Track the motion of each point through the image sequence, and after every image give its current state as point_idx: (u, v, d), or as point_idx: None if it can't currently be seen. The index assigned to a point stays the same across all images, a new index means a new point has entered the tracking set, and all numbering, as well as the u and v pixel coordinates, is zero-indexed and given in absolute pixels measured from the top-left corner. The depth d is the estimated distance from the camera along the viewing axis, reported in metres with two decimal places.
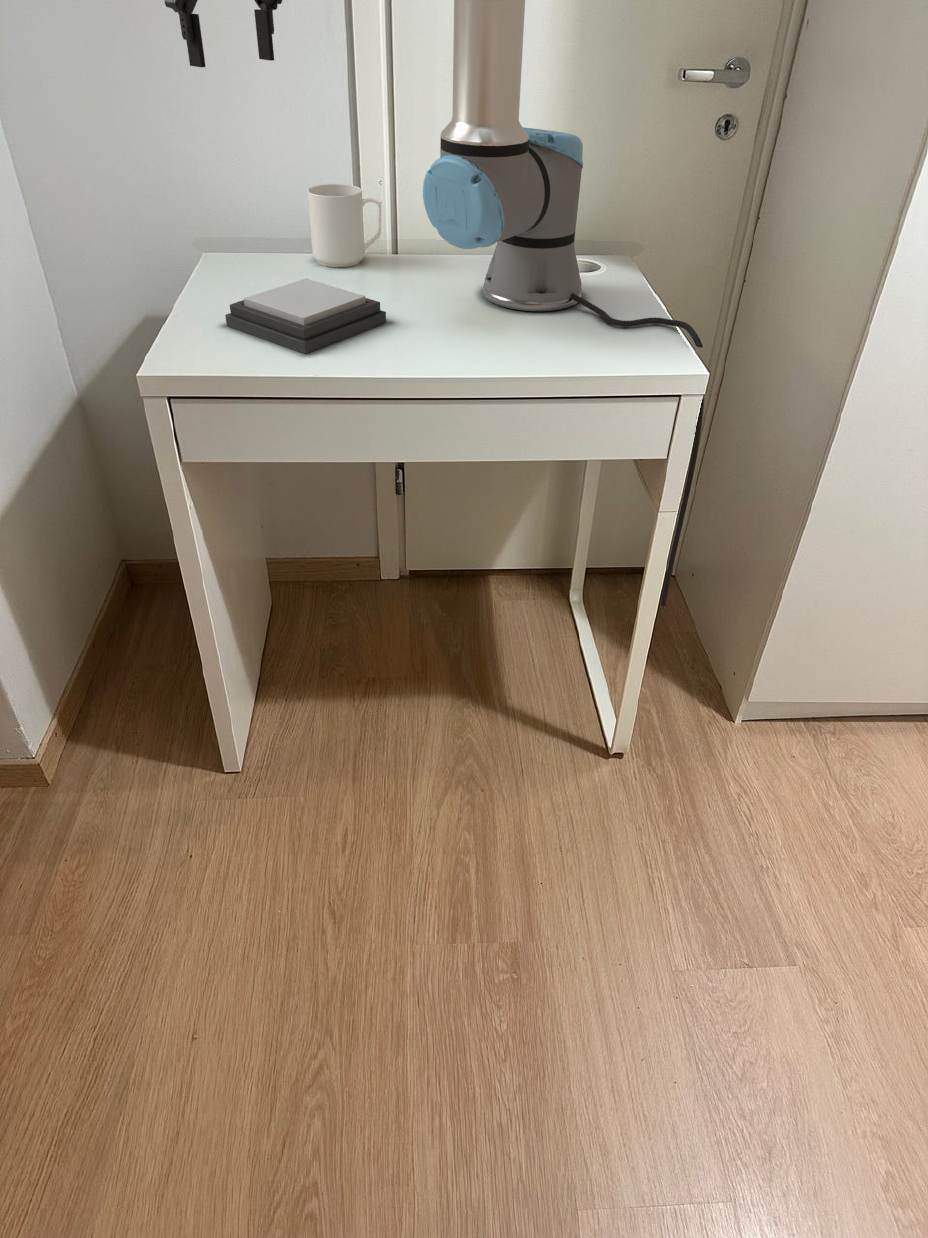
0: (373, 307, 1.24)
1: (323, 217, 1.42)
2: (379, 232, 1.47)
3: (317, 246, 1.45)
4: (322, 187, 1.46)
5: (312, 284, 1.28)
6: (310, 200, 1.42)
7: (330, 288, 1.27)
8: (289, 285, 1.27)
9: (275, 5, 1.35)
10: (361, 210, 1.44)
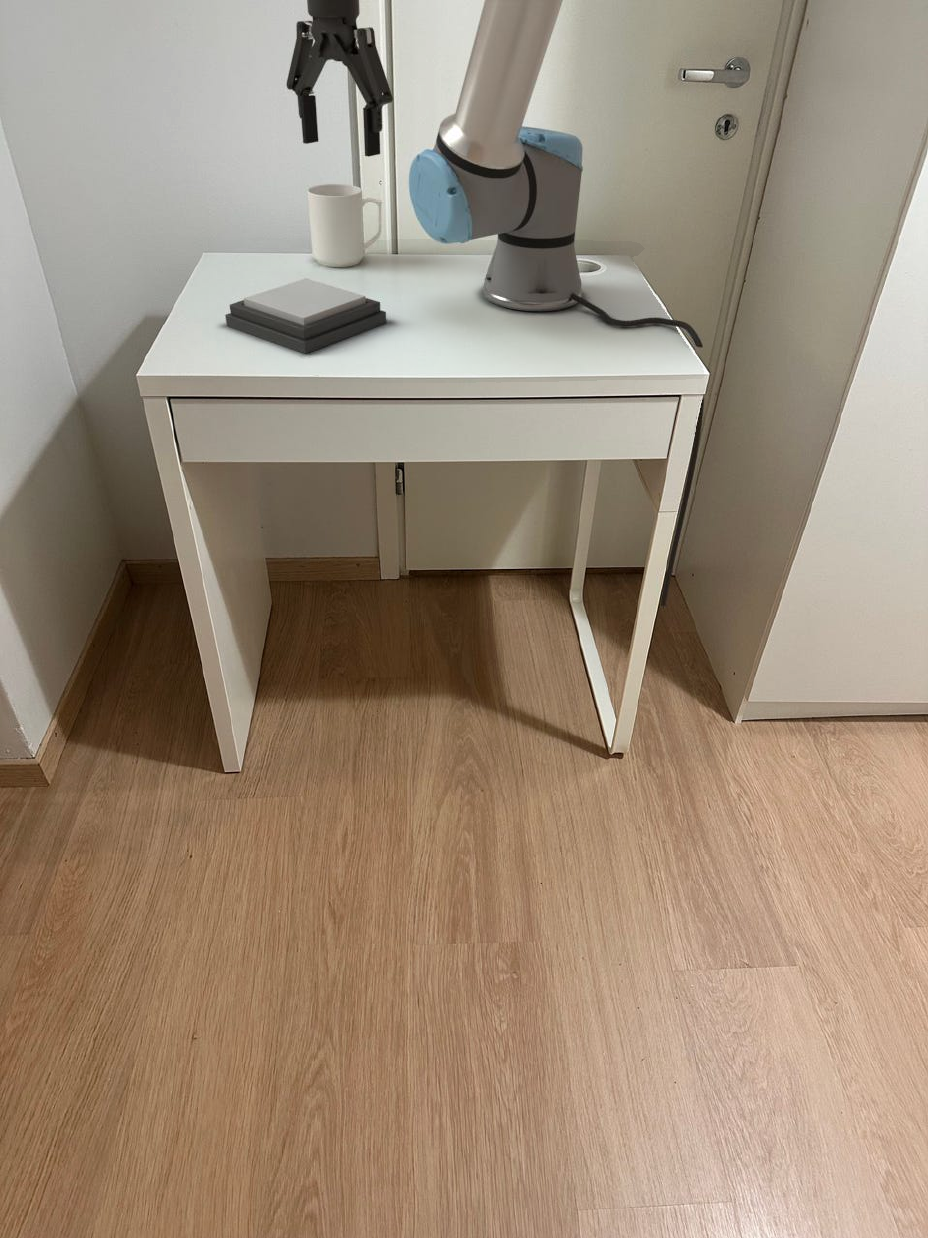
0: (373, 307, 1.24)
1: (323, 217, 1.42)
2: (379, 232, 1.47)
3: (317, 246, 1.45)
4: (322, 187, 1.46)
5: (312, 284, 1.28)
6: (310, 200, 1.42)
7: (330, 288, 1.27)
8: (289, 285, 1.27)
9: (367, 104, 1.30)
10: (361, 210, 1.44)
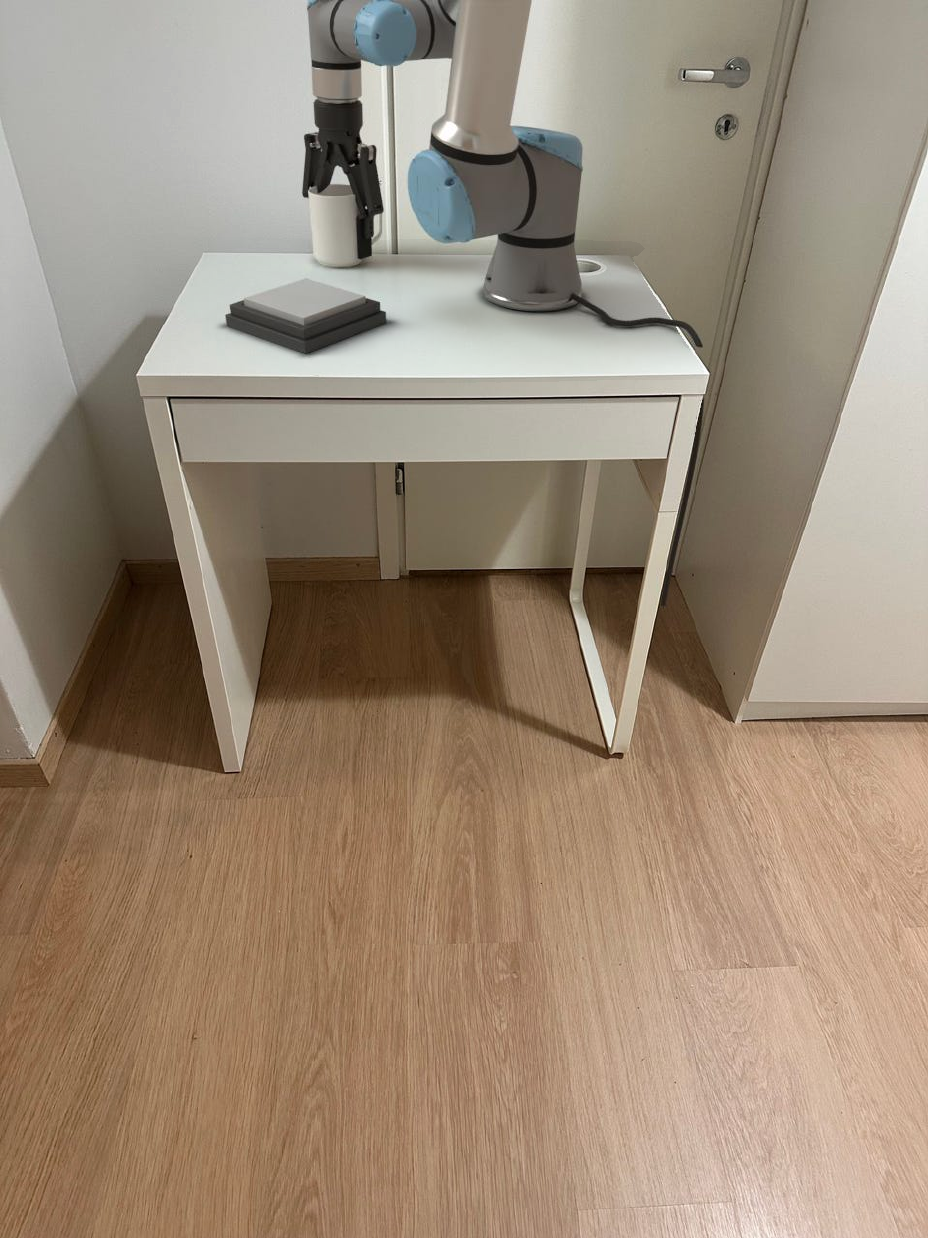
0: (373, 307, 1.24)
1: (324, 217, 1.42)
2: (380, 232, 1.47)
3: (318, 246, 1.45)
4: None
5: (312, 284, 1.28)
6: (311, 200, 1.42)
7: (330, 288, 1.27)
8: (289, 285, 1.27)
9: (360, 215, 1.41)
10: None
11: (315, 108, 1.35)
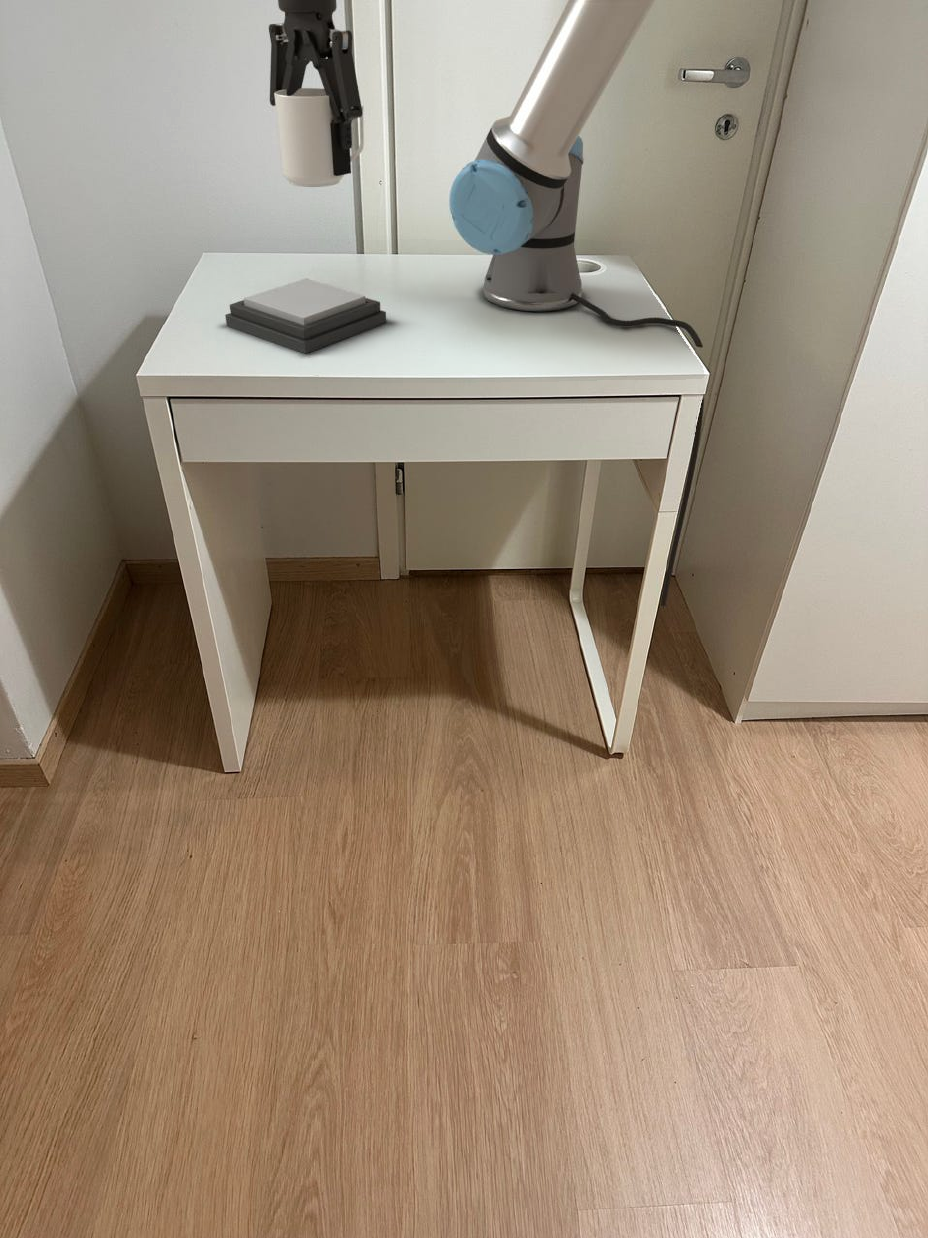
0: (373, 307, 1.24)
1: (292, 124, 1.19)
2: (361, 145, 1.24)
3: (287, 161, 1.22)
4: None
5: (312, 284, 1.28)
6: (277, 103, 1.19)
7: (330, 288, 1.27)
8: (289, 285, 1.27)
9: (334, 119, 1.18)
10: None
11: None
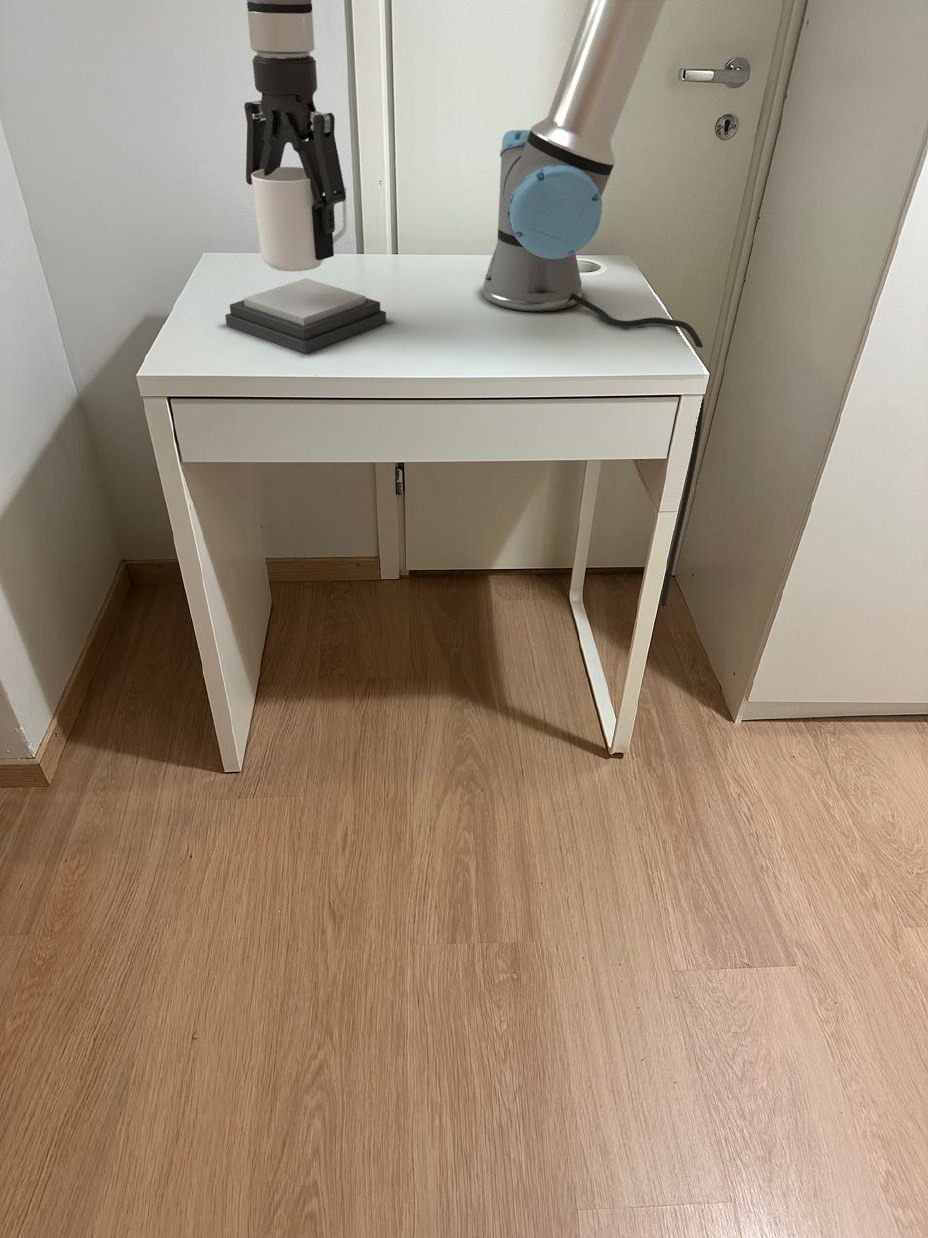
0: (373, 307, 1.24)
1: (271, 208, 1.12)
2: (344, 227, 1.17)
3: (265, 245, 1.15)
4: None
5: (312, 284, 1.28)
6: (254, 187, 1.12)
7: (330, 288, 1.27)
8: (289, 285, 1.27)
9: (315, 204, 1.11)
10: None
11: (254, 66, 1.05)
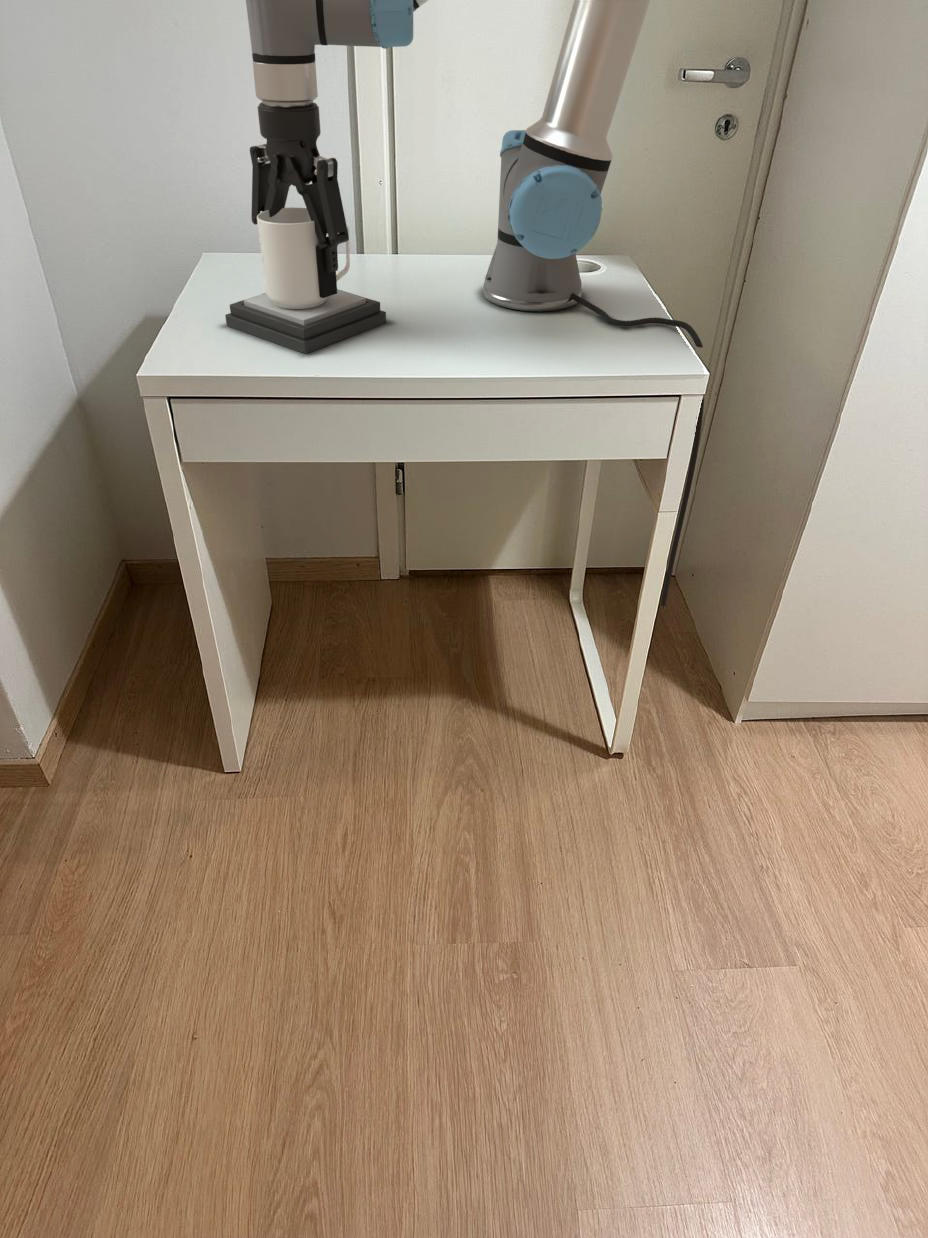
0: (373, 307, 1.24)
1: (276, 249, 1.15)
2: (347, 266, 1.20)
3: (270, 284, 1.18)
4: None
5: None
6: (260, 228, 1.15)
7: None
8: None
9: (319, 245, 1.14)
10: None
11: (259, 113, 1.08)
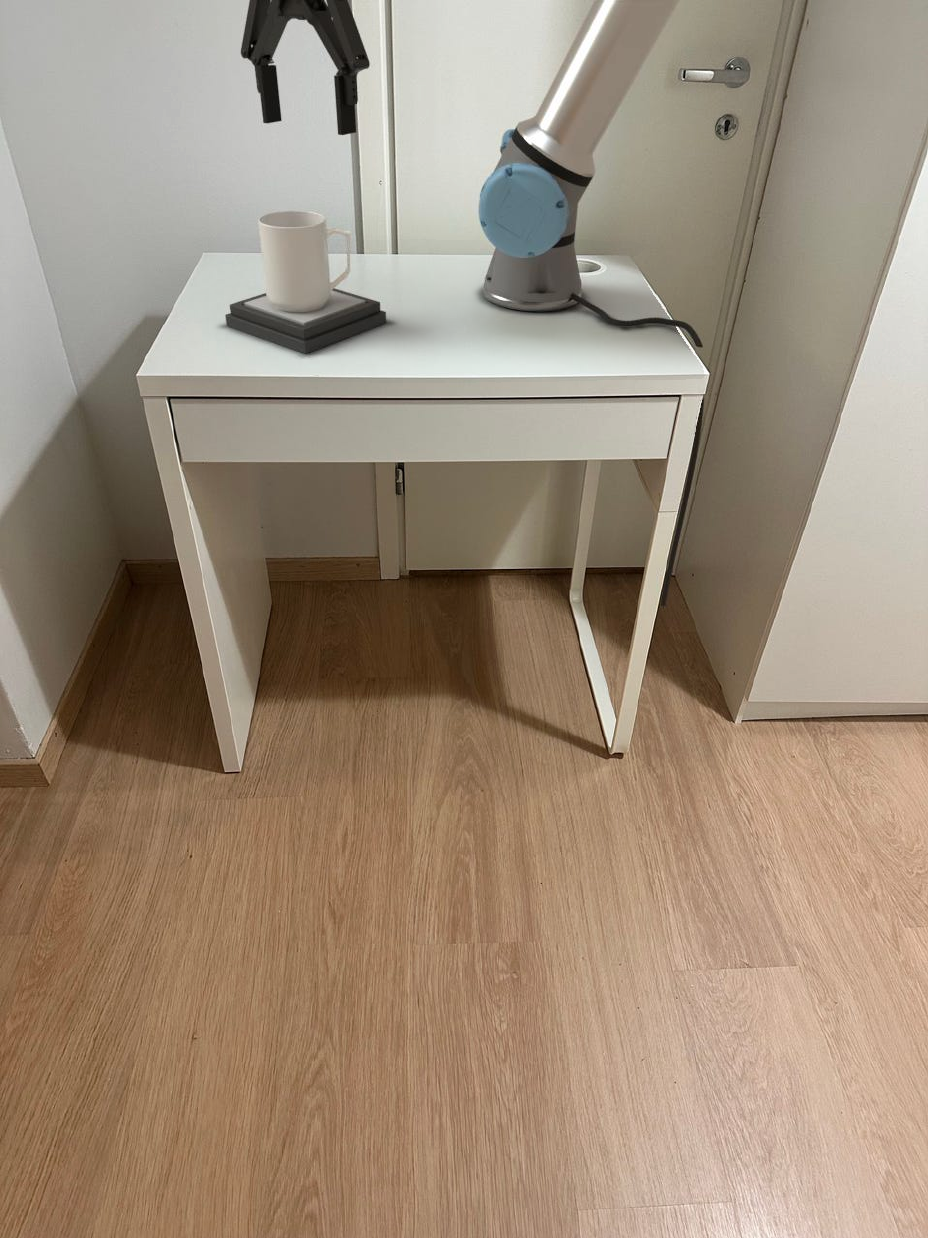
0: (373, 307, 1.24)
1: (277, 253, 1.15)
2: (348, 269, 1.20)
3: (271, 287, 1.18)
4: (277, 215, 1.19)
5: None
6: (261, 232, 1.15)
7: None
8: None
9: (339, 71, 1.08)
10: (325, 243, 1.17)
11: None
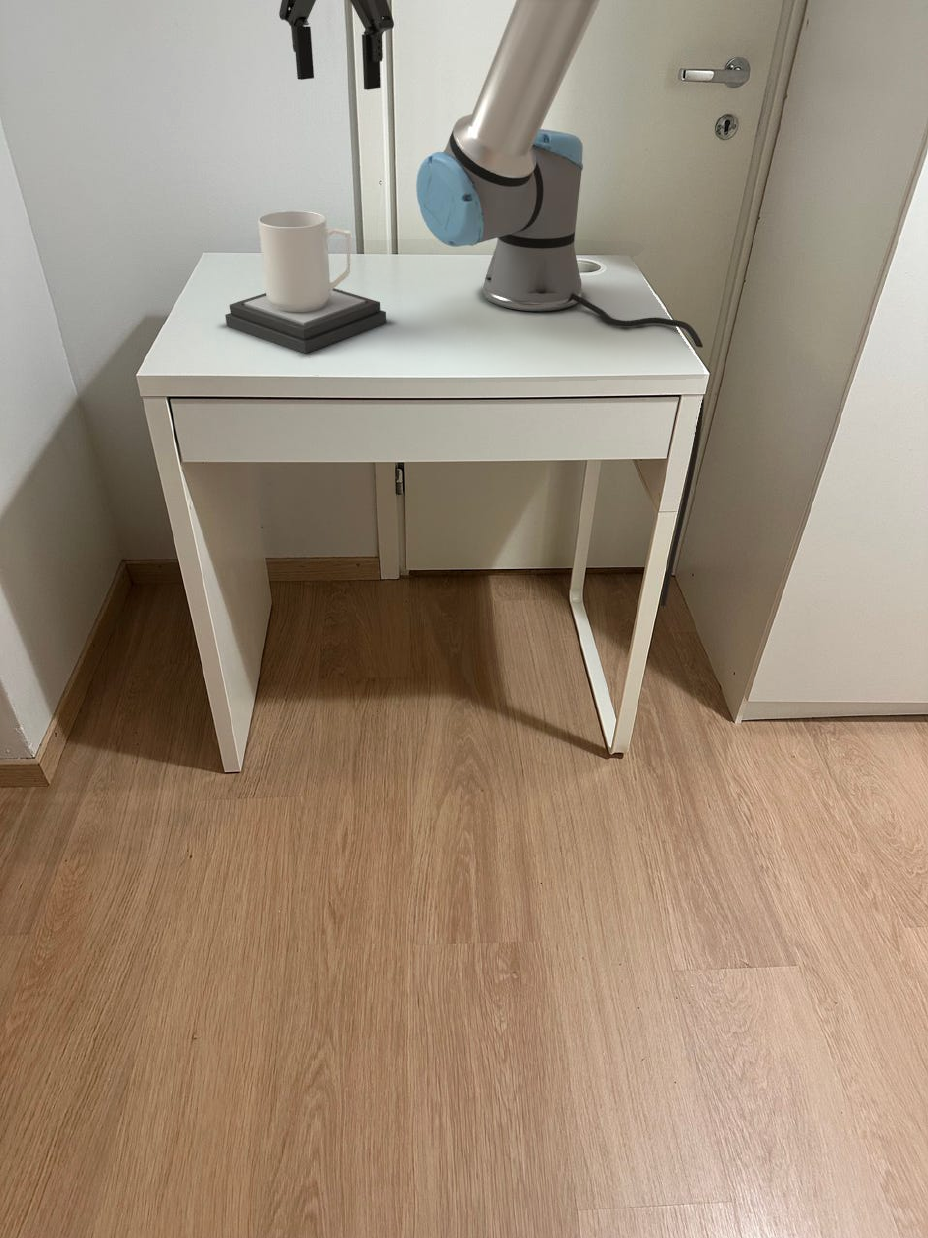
0: (373, 307, 1.24)
1: (277, 253, 1.15)
2: (348, 269, 1.20)
3: (271, 287, 1.18)
4: (277, 215, 1.19)
5: None
6: (261, 232, 1.15)
7: None
8: None
9: (366, 30, 1.20)
10: (325, 243, 1.17)
11: None
